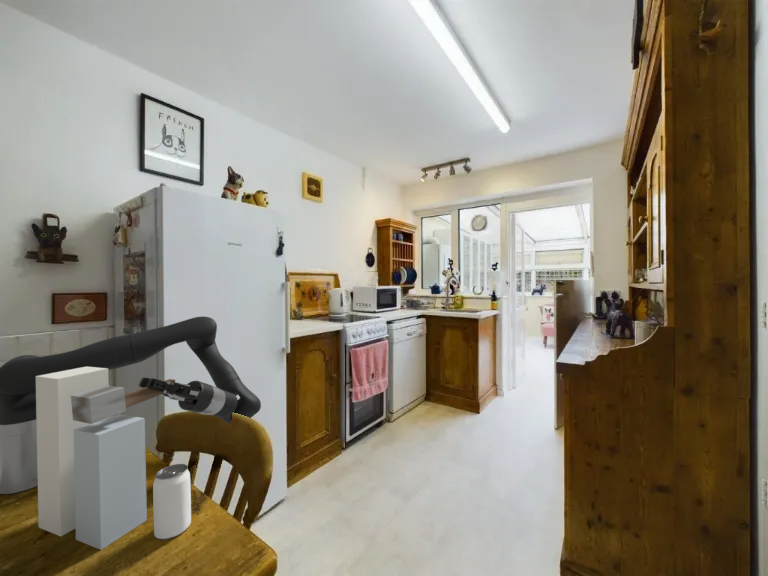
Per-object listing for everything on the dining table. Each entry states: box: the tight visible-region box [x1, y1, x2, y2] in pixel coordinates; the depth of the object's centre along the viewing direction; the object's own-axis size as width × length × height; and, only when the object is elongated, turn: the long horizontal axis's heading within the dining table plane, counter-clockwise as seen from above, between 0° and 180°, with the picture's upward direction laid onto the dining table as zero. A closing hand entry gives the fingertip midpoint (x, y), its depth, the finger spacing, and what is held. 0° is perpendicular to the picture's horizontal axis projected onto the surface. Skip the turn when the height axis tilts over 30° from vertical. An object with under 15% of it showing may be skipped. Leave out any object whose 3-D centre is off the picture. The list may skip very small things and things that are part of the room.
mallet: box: [71, 378, 176, 424], centre depth 72 cm, size 6×18×5 cm, turn 160°
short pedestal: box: [74, 413, 148, 551], centre depth 68 cm, size 8×8×22 cm
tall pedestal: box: [36, 367, 110, 537], centre depth 72 cm, size 8×9×32 cm
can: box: [152, 463, 192, 540], centre depth 68 cm, size 6×6×12 cm
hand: (145, 382), depth 75 cm, fingers closed on mallet
